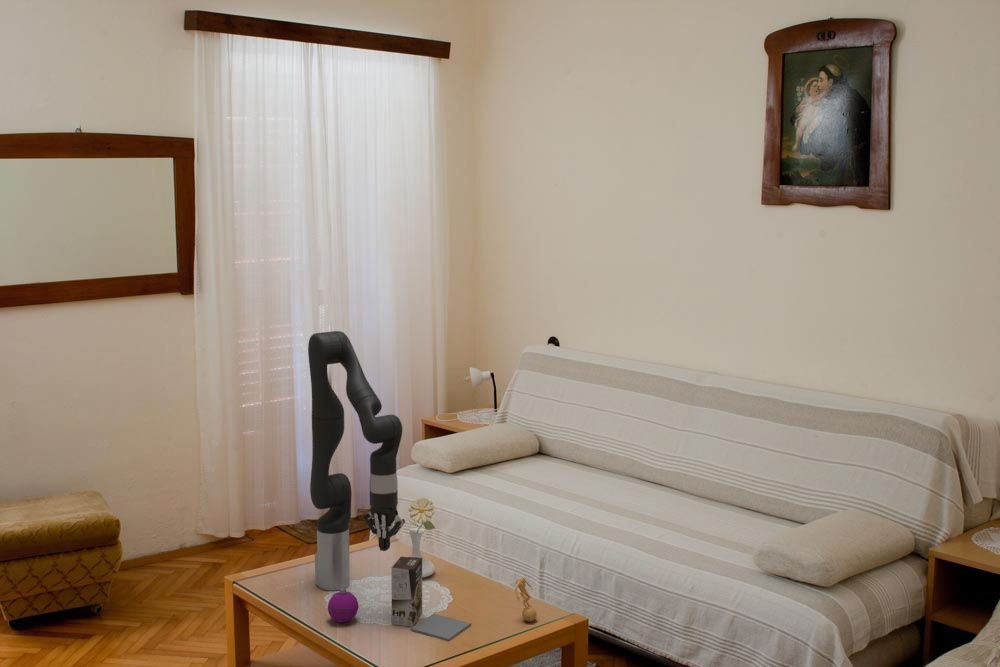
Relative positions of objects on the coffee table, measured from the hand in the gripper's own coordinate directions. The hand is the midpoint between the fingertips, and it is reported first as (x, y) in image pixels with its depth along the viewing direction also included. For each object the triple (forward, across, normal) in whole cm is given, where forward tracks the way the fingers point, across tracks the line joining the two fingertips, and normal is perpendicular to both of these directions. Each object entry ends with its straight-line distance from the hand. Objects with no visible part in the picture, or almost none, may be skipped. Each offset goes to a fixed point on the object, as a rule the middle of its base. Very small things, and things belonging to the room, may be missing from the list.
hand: (384, 549), depth 274 cm
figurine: (+19, +35, +16) cm, 43 cm away
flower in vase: (+18, -8, +27) cm, 34 cm away
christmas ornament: (+18, -7, -10) cm, 22 cm away
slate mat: (+18, +18, 0) cm, 26 cm away
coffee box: (+18, +7, 0) cm, 20 cm away
